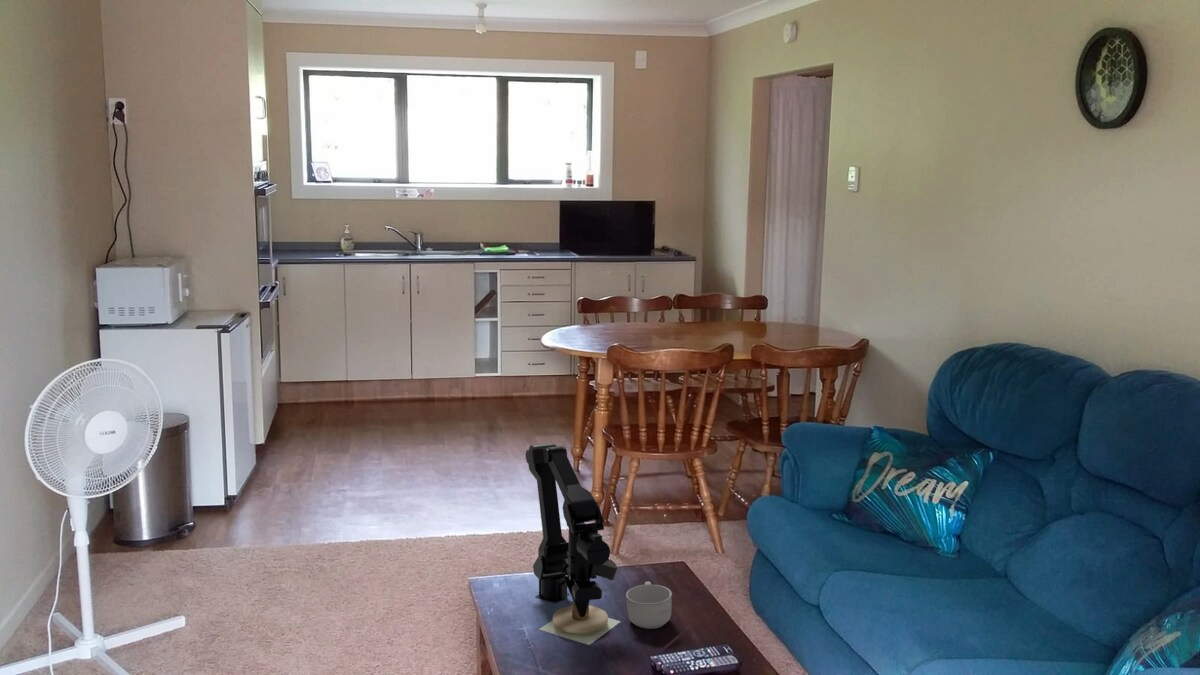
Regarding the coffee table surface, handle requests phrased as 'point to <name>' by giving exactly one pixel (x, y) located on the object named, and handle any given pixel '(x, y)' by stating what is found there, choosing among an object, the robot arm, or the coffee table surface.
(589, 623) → the oak lid
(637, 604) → the teacup
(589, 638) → the sage mat
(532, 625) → the coffee table surface
